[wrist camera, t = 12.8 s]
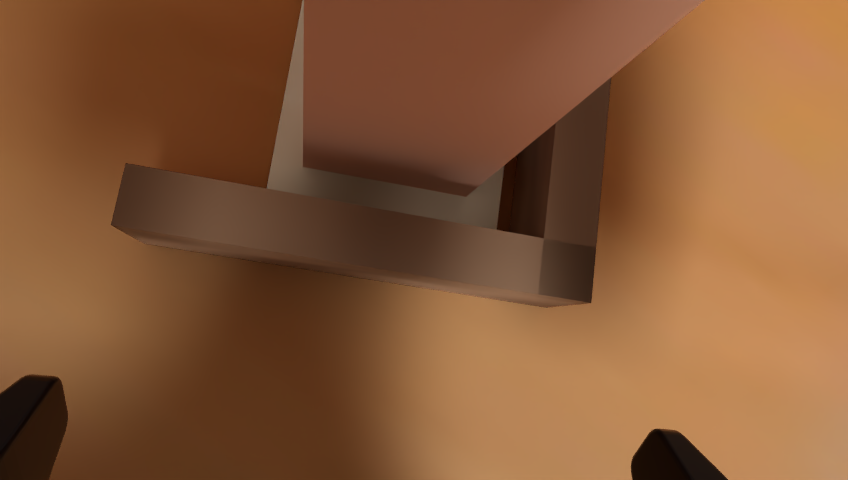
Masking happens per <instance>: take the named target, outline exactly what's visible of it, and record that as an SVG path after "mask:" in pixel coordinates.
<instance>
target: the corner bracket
mask: <svg viewBox="0 0 848 480" xmlns="http://www.w3.org/2000/svg"><path fill="white" fill-rule="evenodd" d="M303 64H304V0H302V6H301V11H300V16H299V21H298V27H297V32H296V37H295V42H294V48H293V53H292V58H291V63H290V68H289V74H288V79H287V84H286V89H285V95H284V100H283V105H282V110H281V115H280V121H279V126H278V131H277V136H276V142H275V147H274V152H273V157H272V162H271V168H270V173H269V178H268V183H267V188H261V187H256V186H250V185H244V184H239V183H233V182H228V181H222V180H217V179H211V178H206V177H200V176H194V175H189V174H183V173H178V172H172V171H167V170H161V169H155V168H150V167H144V166H139V165H133V164H128V163H126V164H125V168H124V172H123V176H122V181H121V185H120V189H119V193H118V198H117V202H116V206H115V210H114V215H113V219H112V223H111V225H112V226H114V227H115V228H117V229H119V230H121V231H123V232H124V233H126V234H128V235H130V236H131V237H133V238H135V239H137V240H139V241H140V242H142V243H144V244H150V245H156V246H162V247H169V248H175V249H181V250H188V251H194V252H200V253H206V254H213V255H219V256H225V257H232V258H238V259H244V260H251V261H257V262H263V263H269V264H276V265H282V266H288V267H295V268H301V269H307V270H314V271H320V272H326V273H332V274H339V275H345V276H351V277H358V278H364V279H370V280H377V281H383V282H389V283H395V284H402V285H408V286H414V287H421V288H427V289H433V290H440V291H446V292H452V293H458V294H465V295H471V296H477V297H484V298H490V299H496V300H503V301H509V302H515V303H521V304H528V305H534V306H540V307H556V306H566V305H576V304H586V303H591V299H592V288H593V277H594V265H595V254H596V243H597V231H598V220H599V209H600V197H601V186H602V175H603V163H604V152H605V141H606V129H607V118H608V107H609V95H610V84H611V78H610V79H608V80H607V81H606V82H605V83H603V84H602V85H601V86H600V87H599V88H597V89H596V90H595V91H594V92H593V93H591V94H590V95H589V96H588V97H586V98H585V99H584V100H583V101H582V102H580V103H579V104H578V105H577V106H576V107H574V108H573V109H572V110H571V111H569V112H568V113H567V114H566V115H565V116H563V117H562V118H561V119H560V120H559V121H557V122H556V123H555V124H554V125H552V126H551V127H550V128H549V129H548V130H546V131H545V132H544V133H543V134H542V135H540V136H539V137H538V138H537V139H535V140H534V141H533V142H532V143H531V144H529V145H528V146H527V147H526V148H525V149H523V150H522V151H521V152H520V153H518V158H517V166H516V175H515V184H514V192H513V201H512V210H511V218H510V227H509V232H506V231H500V230H497V222H498V214H499V206H500V197H501V189H502V180H503V172H504V166H503V167H502V168H500V169H499V170H498V171H497V172H495V173H494V174H493V175H492V176H491V177H489V178H488V179H487V180H486V181H485V182H483V183H482V184H481V185H480V186H478V187H477V188H476V189H475V190H474V191H472V192H471V193H470V194H469V195H468V196H466V197H464V196H459V195H454V194H448V193H443V192H437V191H432V190H426V189H421V188H415V187H410V186H404V185H399V184H394V183H388V182H383V181H377V180H372V179H366V178H361V177H355V176H350V175H345V174H339V173H334V172H328V171H323V170H317V169H312V168H306V167H303Z"/></svg>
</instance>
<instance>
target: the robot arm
mask: <svg viewBox="0 0 848 480" xmlns="http://www.w3.org/2000/svg"><path fill="white" fill-rule="evenodd" d="M67 422H68V411H67V406H66V401H65V396H64V391H63V385H62V382H61V380H60V379H59V378H58V377H55V376H44V375H27V376H24V377H22V378H21V379H19V380H18V381H16V382H15V383H14V384H12V385H11V386H10V387H8V388H7V389H6V390H4V391H3V392H2V393H0V480H49V477H50V474H51V471H52V468H53V465H54V462H55V460H56V457H57V454H58V451H59V448H60V445H61V442H62V440H63V437H64V434H65V431H66V427H67ZM631 474H632V479H633V480H728V479H727V478H726V477H725V476H724V475H723V474H722V473H721V472H720V471H719V470H718V469H717V468H716V467H715V466H714V465H713V464H712V463H711V462H710V461H709V460H708V459H707V458H706V457H705V456H704V455H703V454H702V453H701V452H700V451H699V450H698V449H697V448H696V447H695V446H694V445H693V444H692V443H691V442H690V441H689V440H688V439H687V438H686V437H685V436H683V435H682V434H681V433H680V432H678V431H675V430H667V429H654V430H652V431H651V432H650V433H649V434H648V436H647V437H646V438H645V440H644V441H643V443H642V444H641V446H640V447H639V449H638V450H637V452H636V453H635V454H634V456H633V459H632V462H631Z"/></svg>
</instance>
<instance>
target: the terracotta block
mask: <svg viewBox="0 0 848 480" xmlns="http://www.w3.org/2000/svg"><path fill="white" fill-rule="evenodd" d="M703 1H704V0H304V64H303V167H306V168H312V169H317V170H323V171H328V172H334V173H339V174H345V175H350V176H355V177H361V178H366V179H372V180H377V181H383V182H388V183H394V184H399V185H404V186H410V187H415V188H421V189H426V190H432V191H437V192H443V193H448V194H454V195H459V196H464V197H466V196H468V195H469V194H470V193H471V192H472V191H474V190H475V189H476V188H477V187H478V186H480V185H481V184H482V183H483V182H485V181H486V180H487V179H488V178H489V177H491V176H492V175H493V174H494V173H495V172H497V171H498V170H499V169H500V168H502V167H503V166H504V165H505V164H506V163H508V162H509V161H510V160H511V159H512V158H514V157H515V156H516V155H517V154H518V153H520V152H521V151H522V150H523V149H525V148H526V147H527V146H528V145H529V144H531V143H532V142H533V141H534V140H535V139H537V138H538V137H539V136H540V135H542V134H543V133H544V132H545V131H546V130H548V129H549V128H550V127H551V126H552V125H554V124H555V123H556V122H557V121H559V120H560V119H561V118H562V117H563V116H565V115H566V114H567V113H568V112H569V111H571V110H572V109H573V108H574V107H576V106H577V105H578V104H579V103H580V102H582V101H583V100H584V99H585V98H586V97H588V96H589V95H590V94H591V93H593V92H594V91H595V90H596V89H597V88H599V87H600V86H601V85H602V84H603V83H605V82H606V81H607V80H608V79H610V78H611V77H612V76H613V75H614V74H616V73H617V72H618V71H619V70H620V69H622V68H623V67H624V66H625V65H627V64H628V63H629V62H630V61H631V60H633V59H634V58H635V57H636V56H637V55H639V54H640V53H641V52H642V51H644V50H645V49H646V48H647V47H648V46H650V45H651V44H652V43H653V42H654V41H656V40H657V39H658V38H659V37H661V36H662V35H663V34H664V33H665V32H667V31H668V30H669V29H670V28H671V27H673V26H674V25H675V24H676V23H678V22H679V21H680V20H681V19H682V18H684V17H685V16H686V15H687V14H688V13H690V12H691V11H692V10H693V9H695V8H696V7H697V6H698V5H699V4H701V3H702V2H703Z"/></svg>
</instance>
